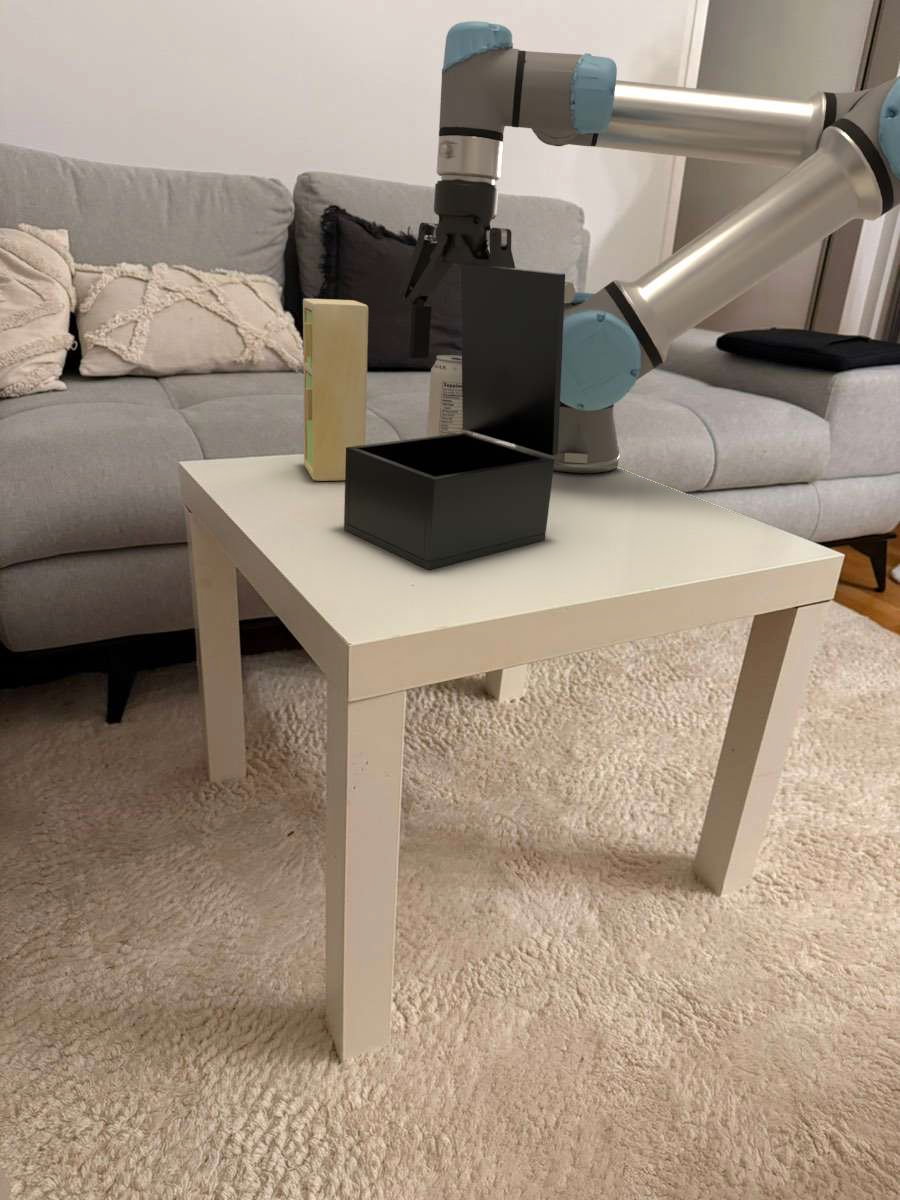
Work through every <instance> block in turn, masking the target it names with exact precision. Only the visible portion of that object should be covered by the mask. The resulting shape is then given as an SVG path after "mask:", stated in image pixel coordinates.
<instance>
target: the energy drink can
mask: <svg viewBox="0 0 900 1200" xmlns="http://www.w3.org/2000/svg"><path fill="white" fill-rule="evenodd" d="M428 395H429V396H428V412H427V427H426V437H433V436H442V435H450V434H458V433H468V434H471V435H474V432H471V431H468V430H464V429H463V415H462V355H457V354H456V355H455V354H439V355H436V360H435V362H434V364H433V365H432V367H431V369H430V381H429V394H428Z"/></svg>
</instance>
